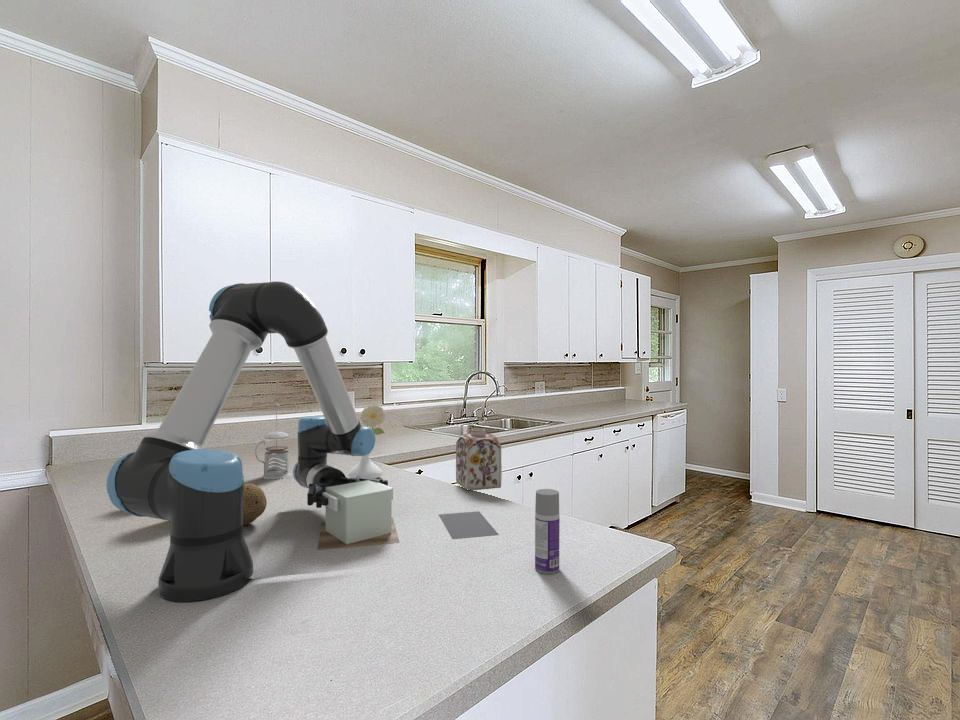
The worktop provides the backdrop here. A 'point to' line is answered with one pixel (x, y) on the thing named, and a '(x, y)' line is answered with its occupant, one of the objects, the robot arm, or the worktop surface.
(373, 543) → the board
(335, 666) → the worktop surface
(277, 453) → the french press
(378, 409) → the flower in vase
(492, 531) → the mat
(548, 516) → the container
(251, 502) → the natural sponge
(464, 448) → the decorative jar
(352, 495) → the pale mint green cube
